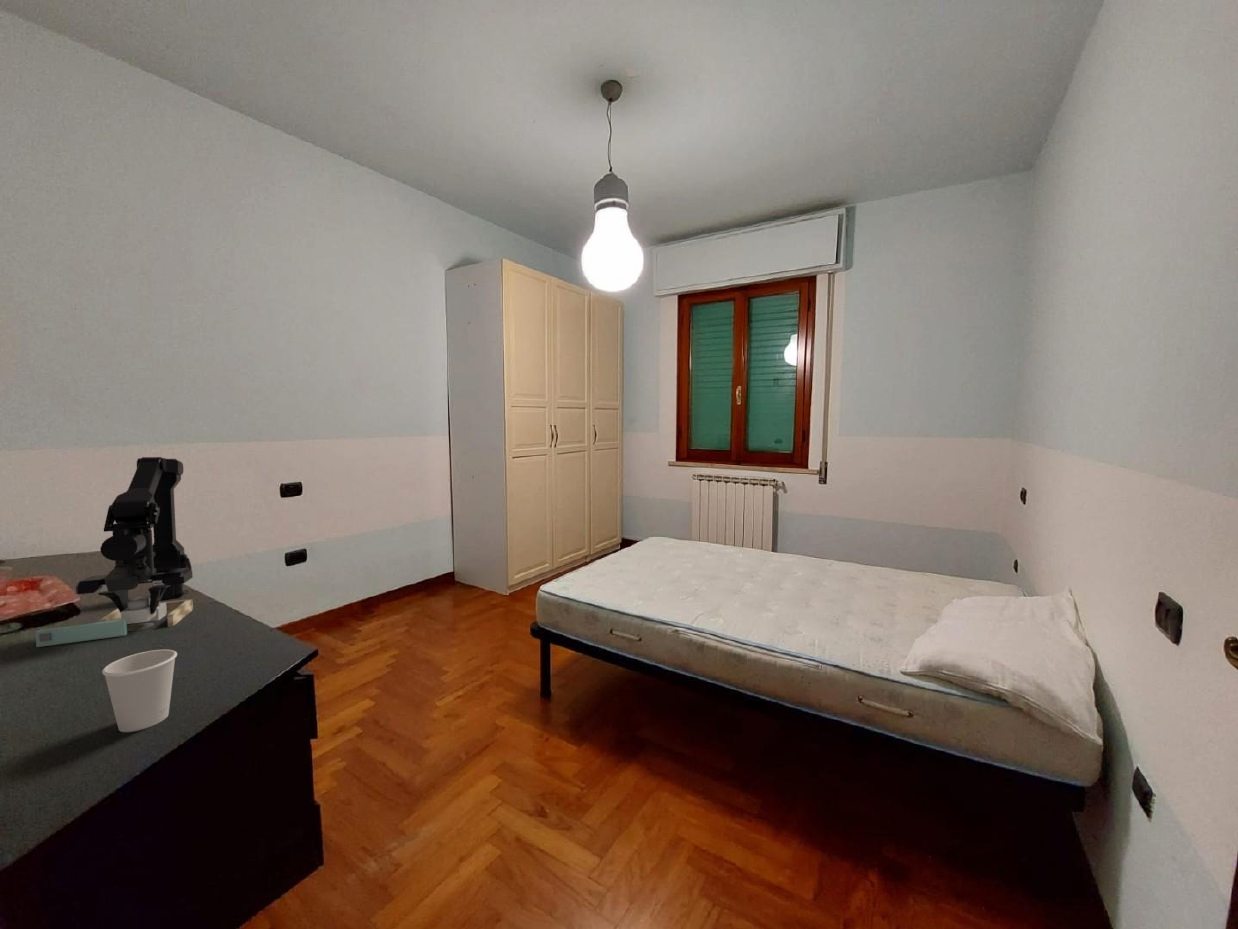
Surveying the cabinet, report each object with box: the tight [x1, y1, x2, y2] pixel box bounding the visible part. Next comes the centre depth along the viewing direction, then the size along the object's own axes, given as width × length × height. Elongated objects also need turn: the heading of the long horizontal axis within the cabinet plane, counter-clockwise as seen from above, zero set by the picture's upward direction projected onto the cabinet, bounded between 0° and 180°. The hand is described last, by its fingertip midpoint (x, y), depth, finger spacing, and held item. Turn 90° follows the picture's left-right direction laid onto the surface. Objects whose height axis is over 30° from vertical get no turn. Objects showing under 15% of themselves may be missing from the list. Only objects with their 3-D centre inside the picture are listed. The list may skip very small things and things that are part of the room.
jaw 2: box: [138, 596, 168, 624], centre depth 116 cm, size 4×4×5 cm
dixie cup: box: [101, 648, 178, 733], centre depth 74 cm, size 8×8×10 cm
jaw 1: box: [121, 596, 156, 625], centre depth 111 cm, size 4×4×5 cm
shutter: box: [35, 619, 128, 648], centre depth 103 cm, size 1×14×4 cm, turn 115°
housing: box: [94, 598, 194, 632], centre depth 114 cm, size 12×14×3 cm
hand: (139, 615), depth 111 cm, fingers closed on jaw 1, 4 cm apart
